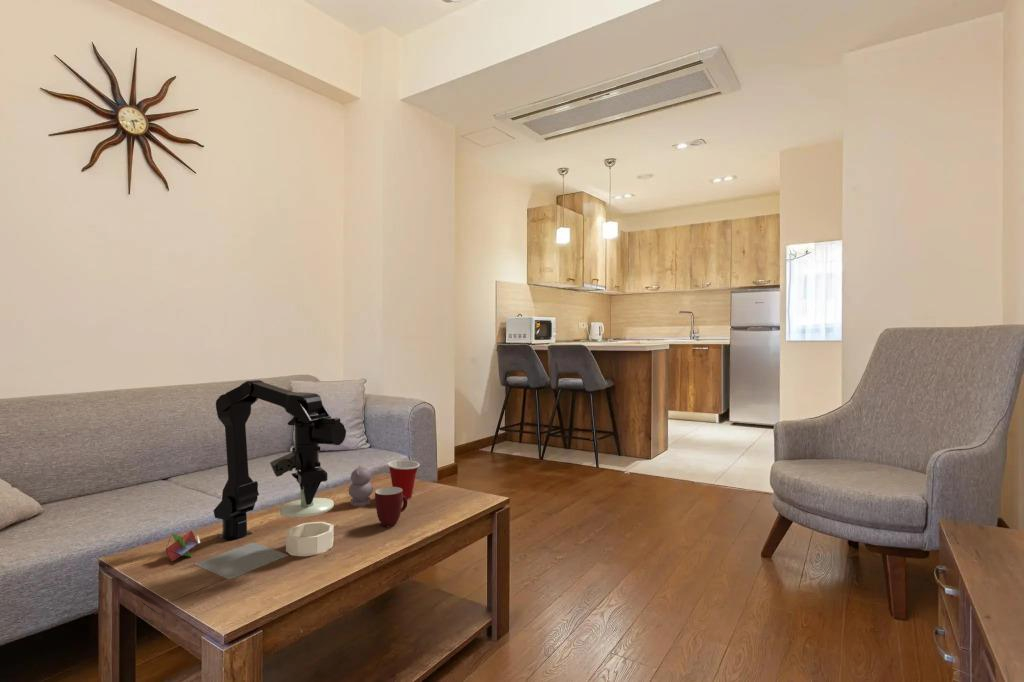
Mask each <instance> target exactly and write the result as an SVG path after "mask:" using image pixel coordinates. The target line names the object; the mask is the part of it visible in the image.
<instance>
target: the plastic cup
mask: <svg viewBox="0 0 1024 682" xmlns="http://www.w3.org/2000/svg"><path fill="white" fill-rule="evenodd" d="M387 466H388V468H389V475H390V479H391V487H399V488H402V489H403V496H405V497H406V498H407V500H409V499H408V498H410V499H412V496H413V490H414V486H415V481H416V476H417V471H418V469H419V467H420V463H419V462H418V461H414V460H407V459H405V460H404V459H400V460H398V459H397V460H391V461H390V462H388V463H387Z"/></svg>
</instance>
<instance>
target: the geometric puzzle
mask: <svg viewBox="0 0 1024 682" xmlns="http://www.w3.org/2000/svg"><path fill="white" fill-rule="evenodd" d="M186 532H187V533H186V534H184V535H183V536H180V535H176V534H173V533H171V536H170V537H172V538H173V539H174V542H173V543H172V544H171V545H168V546H167V547H166V548H165V549H164V550H165V553H167V555H168V558H169V560H170V562H175V561H177V560H178V559H179V558H181V557H182V556H183V557H185V558H189V559H190V558H192V556H191V553H190V550H192V549H194V547H197V546H198V544H201V540H200V539H201V538H200V535H199V534H198V535H197V534H196V536H195V534H194V531H193V530H189V531H186ZM181 533H182V532H180V534H181ZM170 540H171V539H168V542H167V543H168V544H169V543H170ZM196 549H197V548H195V550H194V552H193V554H195V552H196Z"/></svg>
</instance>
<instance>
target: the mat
mask: <svg viewBox="0 0 1024 682" xmlns="http://www.w3.org/2000/svg"><path fill="white" fill-rule="evenodd" d="M288 556H289V554H288V553H284V552H281V551H278V550H276V549H273V548H269V547H267V546H265V545H261V544H259V543H257V542H251V543H248V544H245V545H242V546H240V547H237V548H234V549H231V550H229V551H226V552H223V553H221V554H218V555H214V556H212V557H210V558H207V559H203V560H201V561H198V562H196V563H193V565H195V566H196V567H199V568H201V569H203V570H206V571H209V572H211V573H213V574H215V575H218V576H220V577H222V578H225V579H227V580H233V579H234V578H237V577H240V576H241V575H244V574H246V573H249V572H251V571H252V572H253V570H256V569H259V568H261V567H263V566H266V565H270V564H271V563H273V562H276V561H278V560H280V559H283V558H286V557H288Z"/></svg>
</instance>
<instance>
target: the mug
mask: <svg viewBox="0 0 1024 682" xmlns="http://www.w3.org/2000/svg"><path fill="white" fill-rule="evenodd" d="M374 504H375V509H376V516H377V518H378V520H379V521H378V522H380V525H382V526H383V527H384V526H385V527H386V528H390V526H391V527H394V526H396V525H397V523H398V521H399V518H400V516H401V513H402V512H404V511H405V510H406V509H407V506H408V499H407V498H406V497H405V496H403V489H402V488H399V487H392V486H385V487H380V488H378V489H376V490H374Z"/></svg>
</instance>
